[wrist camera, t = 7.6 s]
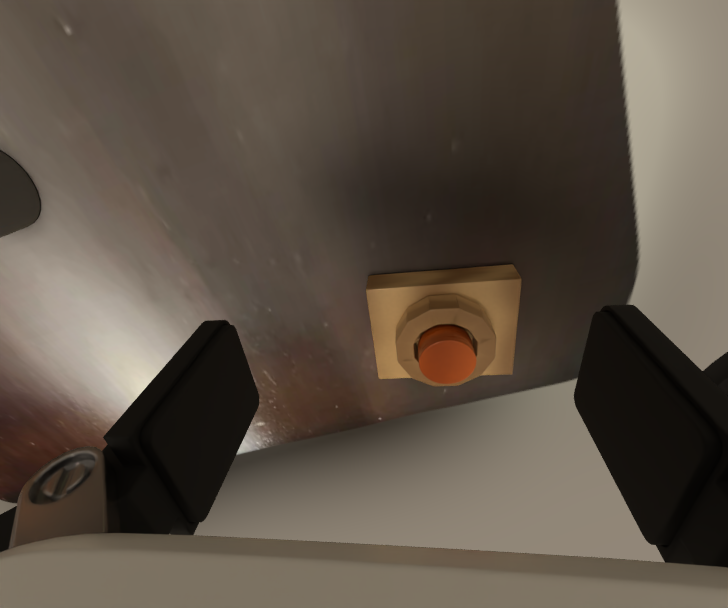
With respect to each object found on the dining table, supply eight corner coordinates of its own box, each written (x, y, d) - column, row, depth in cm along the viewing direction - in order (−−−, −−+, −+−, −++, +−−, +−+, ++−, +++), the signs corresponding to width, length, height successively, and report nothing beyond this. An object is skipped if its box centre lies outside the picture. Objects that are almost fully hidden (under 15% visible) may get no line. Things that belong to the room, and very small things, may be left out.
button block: (513, 264, 25) (530, 292, 21) (505, 355, 29) (519, 391, 26) (368, 275, 26) (363, 303, 23) (380, 360, 30) (377, 395, 27)
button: (472, 322, 23) (477, 339, 22) (471, 365, 25) (476, 383, 24) (416, 325, 24) (417, 341, 22) (419, 367, 26) (420, 385, 24)
